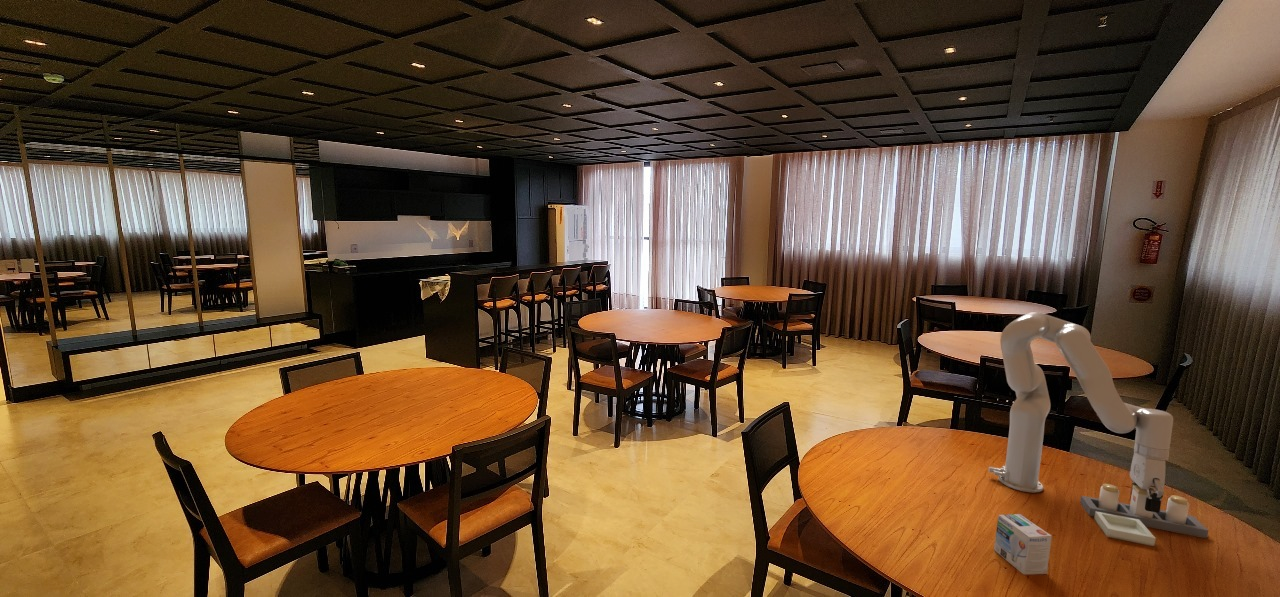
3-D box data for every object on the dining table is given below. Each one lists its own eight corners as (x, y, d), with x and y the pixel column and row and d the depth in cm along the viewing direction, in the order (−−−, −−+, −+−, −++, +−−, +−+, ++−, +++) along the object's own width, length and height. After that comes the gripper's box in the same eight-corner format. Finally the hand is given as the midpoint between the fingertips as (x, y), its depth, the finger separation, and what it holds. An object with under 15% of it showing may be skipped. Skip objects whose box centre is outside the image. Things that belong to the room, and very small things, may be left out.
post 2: (1168, 528, 156) (1172, 500, 154) (1161, 520, 160) (1165, 493, 158) (1188, 531, 154) (1192, 503, 153) (1180, 524, 158) (1185, 496, 156)
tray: (1107, 536, 151) (1108, 528, 151) (1094, 518, 160) (1095, 511, 160) (1154, 546, 147) (1155, 538, 146) (1138, 527, 156) (1139, 519, 156)
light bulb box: (992, 550, 144) (996, 513, 143) (1015, 549, 145) (1019, 513, 143) (1024, 575, 134) (1028, 536, 132) (1048, 574, 134) (1053, 535, 133)
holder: (1089, 515, 162) (1090, 508, 162) (1080, 502, 170) (1081, 495, 169) (1206, 538, 151) (1208, 530, 150) (1191, 523, 158) (1193, 516, 158)
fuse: (1133, 521, 159) (1138, 490, 158) (1128, 514, 163) (1132, 484, 161) (1151, 524, 157) (1156, 494, 156) (1145, 517, 161) (1150, 487, 160)
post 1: (1100, 515, 162) (1104, 488, 161) (1095, 508, 166) (1098, 481, 165) (1118, 518, 161) (1122, 491, 159) (1112, 511, 164) (1116, 484, 163)
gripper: (1123, 438, 166) (1117, 488, 168) (1147, 459, 151) (1141, 514, 153) (1154, 442, 163) (1148, 493, 165) (1182, 464, 147) (1175, 520, 150)
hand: (1144, 503), depth 159 cm, fingers open, 9 cm apart
